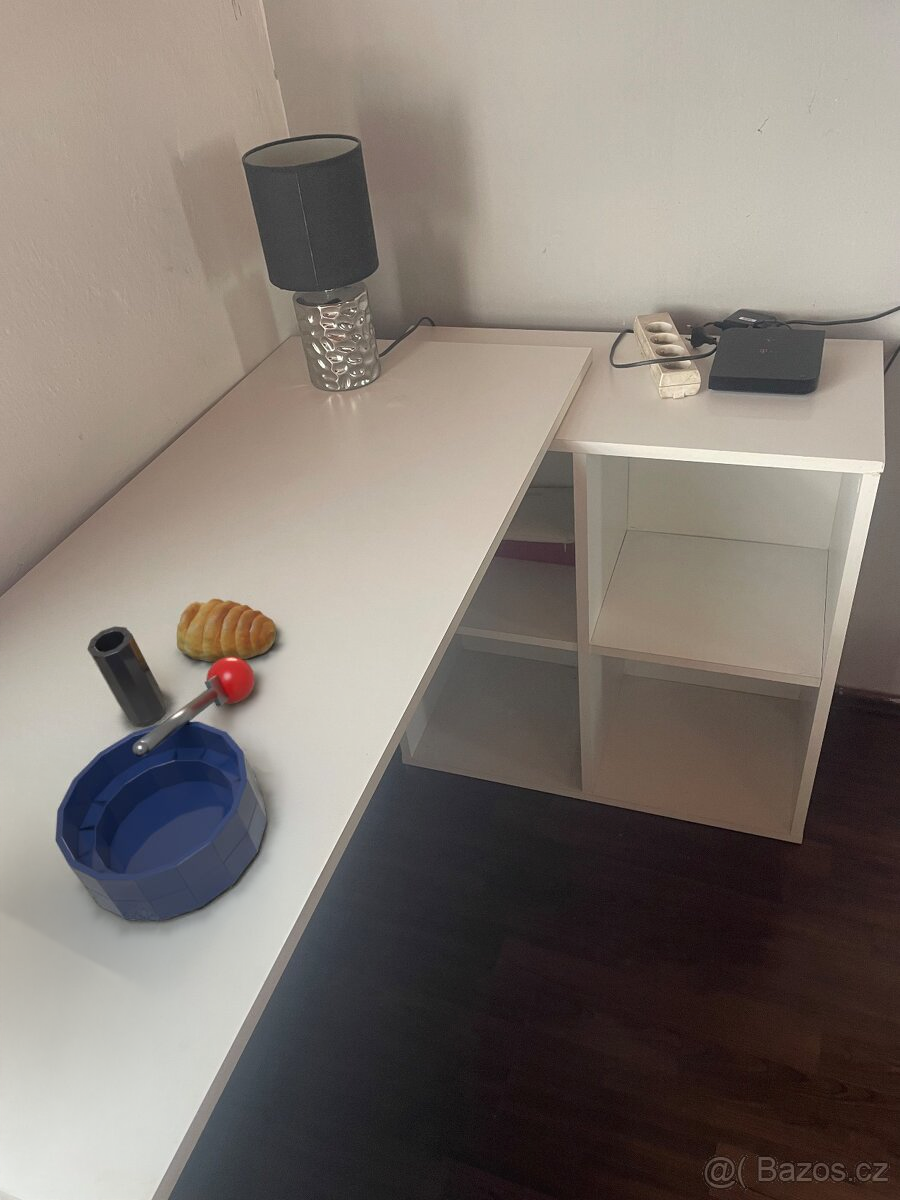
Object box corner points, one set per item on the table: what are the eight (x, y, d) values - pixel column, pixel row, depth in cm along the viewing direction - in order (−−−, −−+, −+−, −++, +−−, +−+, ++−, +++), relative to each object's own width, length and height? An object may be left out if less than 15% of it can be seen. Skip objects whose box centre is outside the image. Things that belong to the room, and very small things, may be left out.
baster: (148, 715, 60) (250, 643, 79) (99, 735, 61) (212, 660, 80) (175, 767, 61) (270, 684, 80) (126, 787, 62) (232, 700, 81)
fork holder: (137, 733, 77) (97, 663, 71) (121, 711, 79) (81, 641, 73) (174, 711, 78) (137, 640, 73) (157, 690, 81) (120, 620, 75)
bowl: (132, 963, 60) (98, 920, 56) (63, 839, 69) (29, 794, 65) (300, 841, 66) (280, 794, 62) (216, 741, 75) (194, 694, 71)
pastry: (289, 621, 86) (279, 592, 83) (264, 670, 81) (252, 641, 78) (205, 616, 88) (192, 587, 86) (175, 663, 83) (161, 635, 81)
